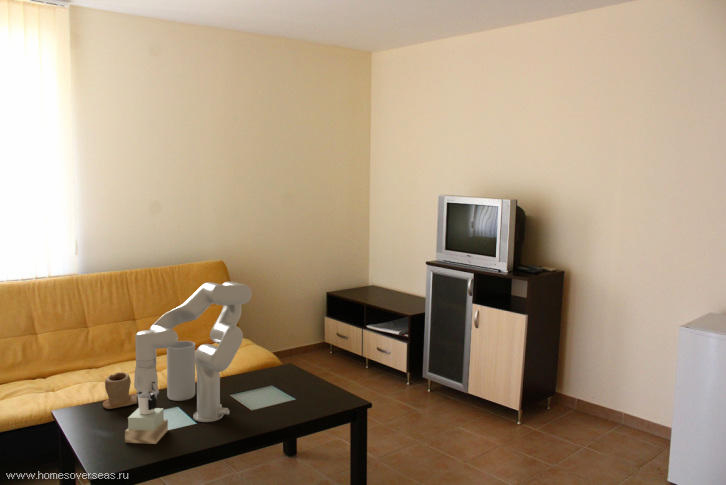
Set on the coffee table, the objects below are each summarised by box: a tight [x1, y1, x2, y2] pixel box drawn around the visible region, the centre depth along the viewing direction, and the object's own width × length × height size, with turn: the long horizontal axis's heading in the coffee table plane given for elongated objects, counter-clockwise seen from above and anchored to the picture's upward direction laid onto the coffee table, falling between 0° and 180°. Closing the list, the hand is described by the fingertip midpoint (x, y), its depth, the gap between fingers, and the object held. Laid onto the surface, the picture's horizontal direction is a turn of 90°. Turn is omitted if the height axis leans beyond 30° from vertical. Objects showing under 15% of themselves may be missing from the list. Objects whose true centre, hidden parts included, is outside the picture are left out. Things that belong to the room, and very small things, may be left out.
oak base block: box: [124, 419, 169, 445], centre depth 225 cm, size 12×12×5 cm
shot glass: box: [137, 393, 155, 415], centre depth 224 cm, size 7×7×7 cm
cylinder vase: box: [166, 340, 196, 402], centre depth 267 cm, size 12×12×25 cm
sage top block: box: [127, 407, 165, 431], centre depth 224 cm, size 10×10×5 cm
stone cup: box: [102, 371, 138, 410], centre depth 255 cm, size 15×12×15 cm
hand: (146, 406), depth 224 cm, fingers open, 7 cm apart
